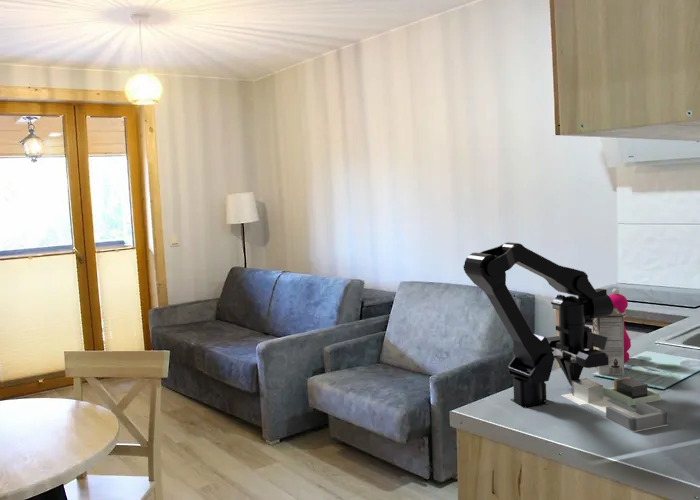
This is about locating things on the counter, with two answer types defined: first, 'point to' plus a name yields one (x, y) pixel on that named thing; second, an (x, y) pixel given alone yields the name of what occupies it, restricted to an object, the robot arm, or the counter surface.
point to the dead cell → (587, 390)
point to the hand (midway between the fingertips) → (573, 386)
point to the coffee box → (611, 342)
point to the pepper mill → (621, 305)
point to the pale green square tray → (627, 400)
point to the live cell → (630, 387)
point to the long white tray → (625, 413)
